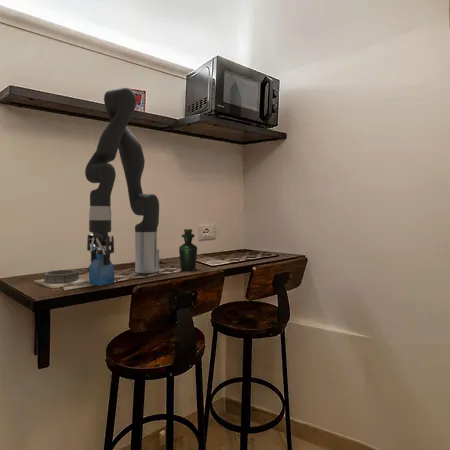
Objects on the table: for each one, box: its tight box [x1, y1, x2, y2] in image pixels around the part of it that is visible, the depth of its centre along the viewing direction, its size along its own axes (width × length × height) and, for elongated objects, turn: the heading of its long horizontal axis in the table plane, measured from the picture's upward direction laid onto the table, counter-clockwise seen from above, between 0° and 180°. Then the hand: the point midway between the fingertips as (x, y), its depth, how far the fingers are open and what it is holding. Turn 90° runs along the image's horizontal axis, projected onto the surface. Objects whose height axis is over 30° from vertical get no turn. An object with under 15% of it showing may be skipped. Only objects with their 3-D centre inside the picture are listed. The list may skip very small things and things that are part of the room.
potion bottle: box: [178, 228, 198, 272], centre depth 158 cm, size 8×8×18 cm
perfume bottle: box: [88, 249, 115, 287], centre depth 128 cm, size 6×6×12 cm
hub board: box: [33, 269, 89, 289], centre depth 130 cm, size 13×15×4 cm
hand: (100, 264), depth 128 cm, fingers open, 8 cm apart
